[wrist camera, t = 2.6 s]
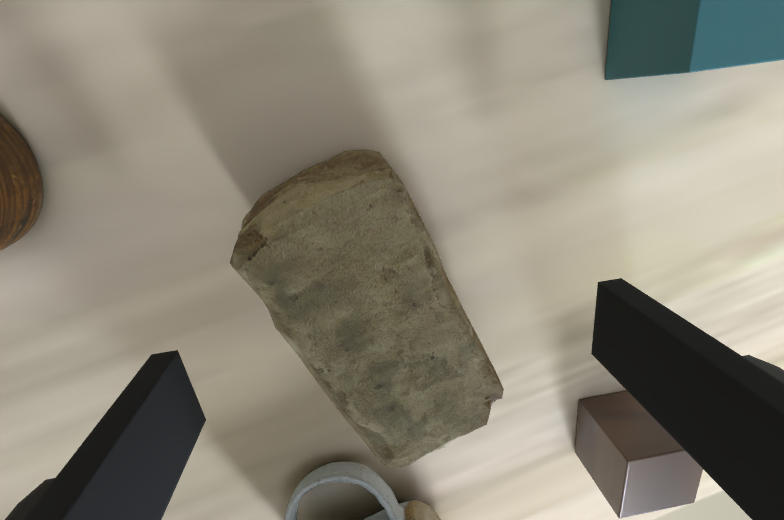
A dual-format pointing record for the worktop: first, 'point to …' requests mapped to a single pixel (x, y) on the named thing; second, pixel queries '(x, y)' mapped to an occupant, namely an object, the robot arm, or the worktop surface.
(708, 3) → the teal block
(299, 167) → the worktop surface
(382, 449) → the stone block
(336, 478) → the ceramic mug
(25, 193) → the utensil holder
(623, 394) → the walnut block
